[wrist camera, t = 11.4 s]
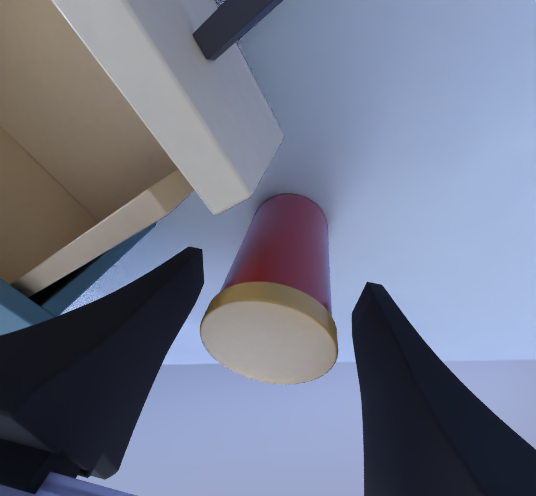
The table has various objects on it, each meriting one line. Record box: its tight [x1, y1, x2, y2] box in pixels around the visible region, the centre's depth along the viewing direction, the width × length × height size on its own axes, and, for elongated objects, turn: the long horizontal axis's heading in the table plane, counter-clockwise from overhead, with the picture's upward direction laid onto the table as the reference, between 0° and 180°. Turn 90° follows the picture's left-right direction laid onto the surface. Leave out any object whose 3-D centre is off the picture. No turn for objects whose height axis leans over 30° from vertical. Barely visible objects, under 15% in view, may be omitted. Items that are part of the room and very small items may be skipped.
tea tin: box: [200, 194, 338, 384], centre depth 12 cm, size 5×5×8 cm
